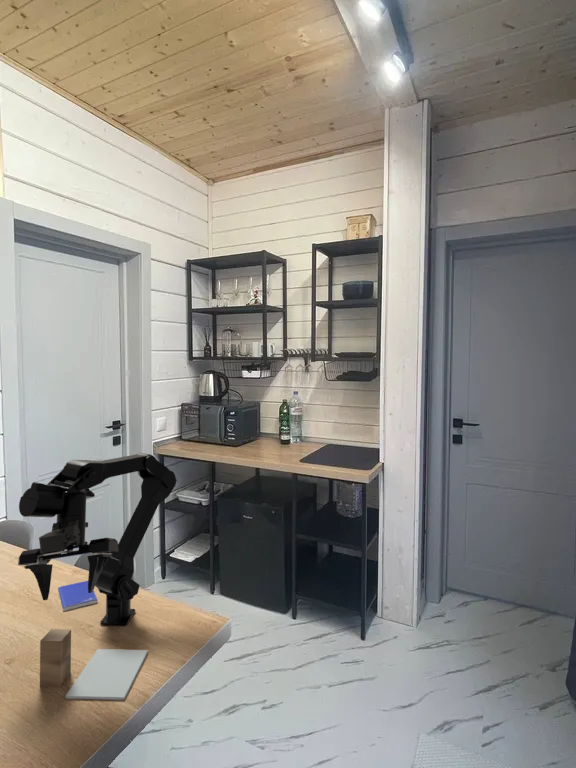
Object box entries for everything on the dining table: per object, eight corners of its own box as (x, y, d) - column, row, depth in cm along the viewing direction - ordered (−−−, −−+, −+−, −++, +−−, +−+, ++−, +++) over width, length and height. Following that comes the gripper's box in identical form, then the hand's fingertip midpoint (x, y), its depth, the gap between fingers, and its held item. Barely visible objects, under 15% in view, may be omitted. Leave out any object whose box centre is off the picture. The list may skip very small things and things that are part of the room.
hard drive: (97, 598, 116) (89, 579, 126) (63, 607, 112) (57, 586, 122) (97, 604, 116) (89, 585, 127) (63, 613, 112) (57, 592, 122)
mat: (97, 651, 96) (97, 648, 96) (147, 652, 96) (147, 650, 96) (65, 698, 82) (65, 695, 82) (124, 699, 82) (124, 697, 82)
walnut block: (50, 672, 89) (51, 628, 89) (70, 672, 89) (71, 629, 89) (39, 686, 85) (40, 640, 85) (60, 686, 85) (60, 641, 85)
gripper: (5, 521, 88) (-4, 607, 82) (97, 506, 89) (95, 591, 83) (36, 526, 98) (30, 602, 92) (119, 513, 99) (119, 588, 93)
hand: (67, 596), depth 90 cm, fingers open, 9 cm apart
